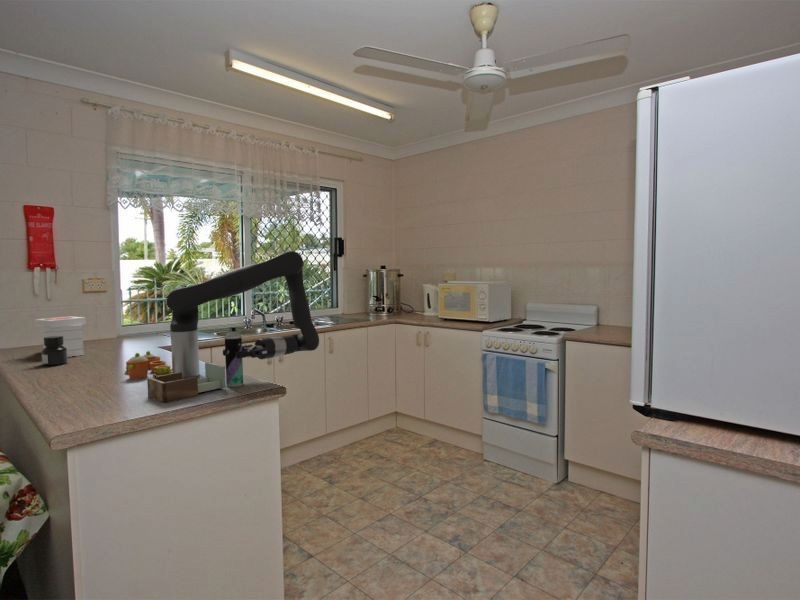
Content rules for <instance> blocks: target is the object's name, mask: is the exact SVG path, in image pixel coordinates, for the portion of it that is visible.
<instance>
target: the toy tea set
mask: <svg viewBox="0 0 800 600" xmlns="http://www.w3.org/2000/svg"><path fill="white" fill-rule="evenodd" d="M125 364H126V366H125V371H124V373H125V374H127V375H128V378H129V380H141V378H143V379H146V378H148V373H149V372H148V371H149V370H150V372H151V373H152V372H155V373H153V374H152V377H155V376H162V375H167V374H173V372H172V368H171V365H169V364H166V360H161V356H156V355H154V354H151V351H150V350H147V351H146V354H143V355H140V353H139V352H136V353H135V354H134V356H132V357H130V358H129V359H128V360H127V361H125ZM145 377H146V378H145Z"/></svg>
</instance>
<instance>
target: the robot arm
mask: <svg viewBox="0 0 800 600" xmlns="http://www.w3.org/2000/svg"><path fill="white" fill-rule="evenodd" d="M303 267H304V259H303V257H302V255H301V254H300V253H298V252H297V251H295V250H287V251H284V252H282V253H281V254H278V255H277V256H275V257H272V258H270V259H267V260H265V261H261V262H258V263H252V264H248V265H245V266H241V267H238V268H234V269H231V270H229V271H226V272H223V273H221V274H218V275H217V276H213V277H212V278H209V279H208V280H206V281H204V282H201V283H197V284H193V285H190V286H186V287H184V286H183V287H178V288H175V289H172V291H171V292H169V293H168V295H167V297H166V301H165V303H166V306H167V308H168V309H169V310H170V311H171V317H172V318H171V323H170V325H169V327H170V330H169V331H170V344H171V345H170V348H171V369H172V372H173V373H179V372H182V379H186V378H192V377H198V376H199V375H200V357H199V355H200V354H199V350H200V349H199V333H198V332H199V330H198V323H199V306H201V305H203V304H206V303H209V302H211V301H215V300H216V301H217V300H221V299H225V298H230V297H232V296H236V295H239V294H243V293H246V292H248V291H250V290H253V289H255V288H258V287H259V286H261V285H263V284H266V283H267V282H269V281H272V280H275V279H278V278H282V277H284V278H285V281H286V284H287V289H288V294H289V303H290V305H289V306H290V311H291V316H292V321H293V322H292V323H293V326H294V327H295V328H296V329H299V330H300V333H296V334H292V335H283V336H282V335H281V336H270V337H264V338H258V339H257V340H256V341H255V342H254V344H252V343H251V344H242V351H239V352H236V358H237V359H239V358H242V359H243V358H252V359H255V358H258V359H259V360H267V359H268V360H269V359H273V358H278V357H280V356H285V355H290V354H294V353H295V352H303V351H304V352H309V351H311V352H312V351H316V350H317V349H318V348H319V344H320V336H319V333H318V332H317V329H316V327H315V325H314V323H313V321H312V315H311V310H310V306H309V305H310V304H309V302H308V298H307V293H306V290H305V283H304V273H303V272H304V270H303ZM222 356H224V357H225V348H223V350H222ZM173 373H172V374H173Z"/></svg>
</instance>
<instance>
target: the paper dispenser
mask: <svg viewBox="0 0 800 600" xmlns="http://www.w3.org/2000/svg"><path fill="white" fill-rule="evenodd" d="M34 321H35V327H41V334H42V336H41V337H42V350H43V349H44V348H45V347H46V346H44V337H50V336H63V341H64V343H63V345H62V346H64V347H66V348H67V358H73V357H72V356H76V357H80V356H79V355H84V354H85V353H84V339H83V338H84V336H83V325H86V324H87V322H86V316H85V317H84V316H73V315H72V316H59V317H48V318H47V317H46V318H36V319H35V320H34ZM84 356H85V355H84Z"/></svg>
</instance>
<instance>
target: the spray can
mask: <svg viewBox="0 0 800 600" xmlns="http://www.w3.org/2000/svg"><path fill="white" fill-rule="evenodd" d="M242 339H243V338H242V333H240V332H239V331H238V330H237V329H236V327H230V330H229V331H228V332H227V333H225V335H224V349H225V356H224V358H225V382H226V387H229V388H235V387H241V386H243V385H244V370H243V368H244V367H243V366H244V363H243V362H244V361H243V358H239V359H237V358H236V352H239V351H242V345H243V342H242V341H243V340H242Z"/></svg>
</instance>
